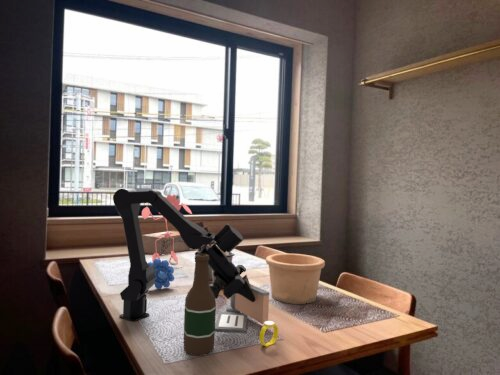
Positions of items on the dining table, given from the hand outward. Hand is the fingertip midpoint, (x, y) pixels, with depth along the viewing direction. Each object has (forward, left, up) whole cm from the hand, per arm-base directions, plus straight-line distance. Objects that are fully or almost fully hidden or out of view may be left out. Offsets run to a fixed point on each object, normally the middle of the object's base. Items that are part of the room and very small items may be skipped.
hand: (254, 301), depth 113 cm
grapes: (+9, +47, -7) cm, 48 cm away
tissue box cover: (+68, +100, -8) cm, 121 cm away
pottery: (+33, +2, -7) cm, 34 cm away
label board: (0, +8, -7) cm, 11 cm away
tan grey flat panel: (+4, +4, -6) cm, 8 cm away
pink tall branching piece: (+40, +72, -7) cm, 83 cm away
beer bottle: (-22, +3, -7) cm, 24 cm away
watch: (-9, -10, -7) cm, 15 cm away
